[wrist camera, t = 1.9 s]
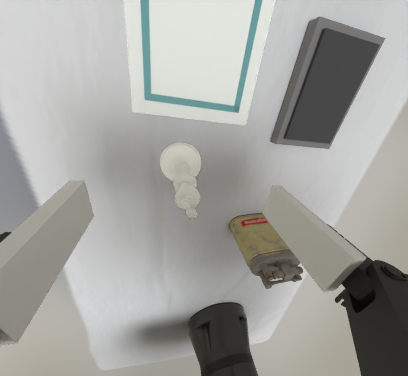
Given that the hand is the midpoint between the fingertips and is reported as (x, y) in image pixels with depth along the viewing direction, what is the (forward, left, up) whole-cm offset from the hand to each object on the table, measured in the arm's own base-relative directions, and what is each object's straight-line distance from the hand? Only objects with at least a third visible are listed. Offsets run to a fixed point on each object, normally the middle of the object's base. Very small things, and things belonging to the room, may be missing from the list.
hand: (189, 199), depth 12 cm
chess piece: (0, 0, -9) cm, 9 cm away
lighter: (-10, -12, -9) cm, 18 cm away
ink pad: (+9, -15, -9) cm, 19 cm away
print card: (+11, -1, -9) cm, 14 cm away
